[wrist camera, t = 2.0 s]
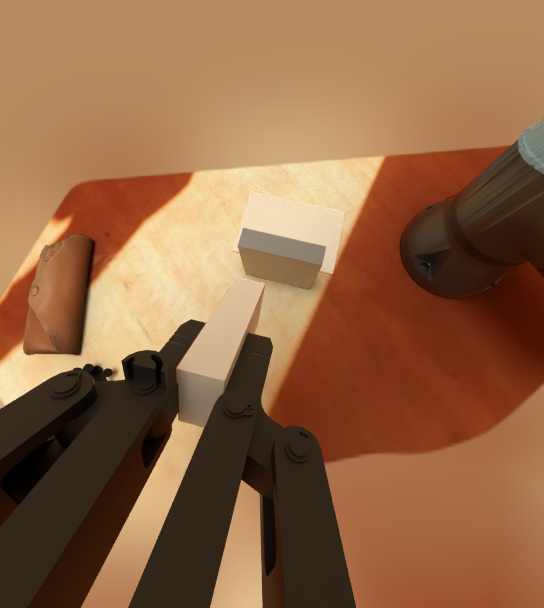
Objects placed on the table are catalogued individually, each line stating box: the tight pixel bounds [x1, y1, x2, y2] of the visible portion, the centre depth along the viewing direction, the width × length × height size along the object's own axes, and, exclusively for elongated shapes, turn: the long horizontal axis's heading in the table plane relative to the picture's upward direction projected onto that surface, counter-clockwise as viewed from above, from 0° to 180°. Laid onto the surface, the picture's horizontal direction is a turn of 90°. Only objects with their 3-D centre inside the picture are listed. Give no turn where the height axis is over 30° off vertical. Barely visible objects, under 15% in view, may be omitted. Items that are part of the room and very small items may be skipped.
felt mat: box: [233, 191, 345, 275], centre depth 40 cm, size 16×11×1 cm
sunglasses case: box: [23, 234, 92, 355], centre depth 37 cm, size 18×7×7 cm
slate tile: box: [238, 228, 326, 289], centre depth 34 cm, size 10×3×10 cm, turn 76°
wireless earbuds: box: [73, 364, 112, 381], centre depth 35 cm, size 7×2×5 cm
